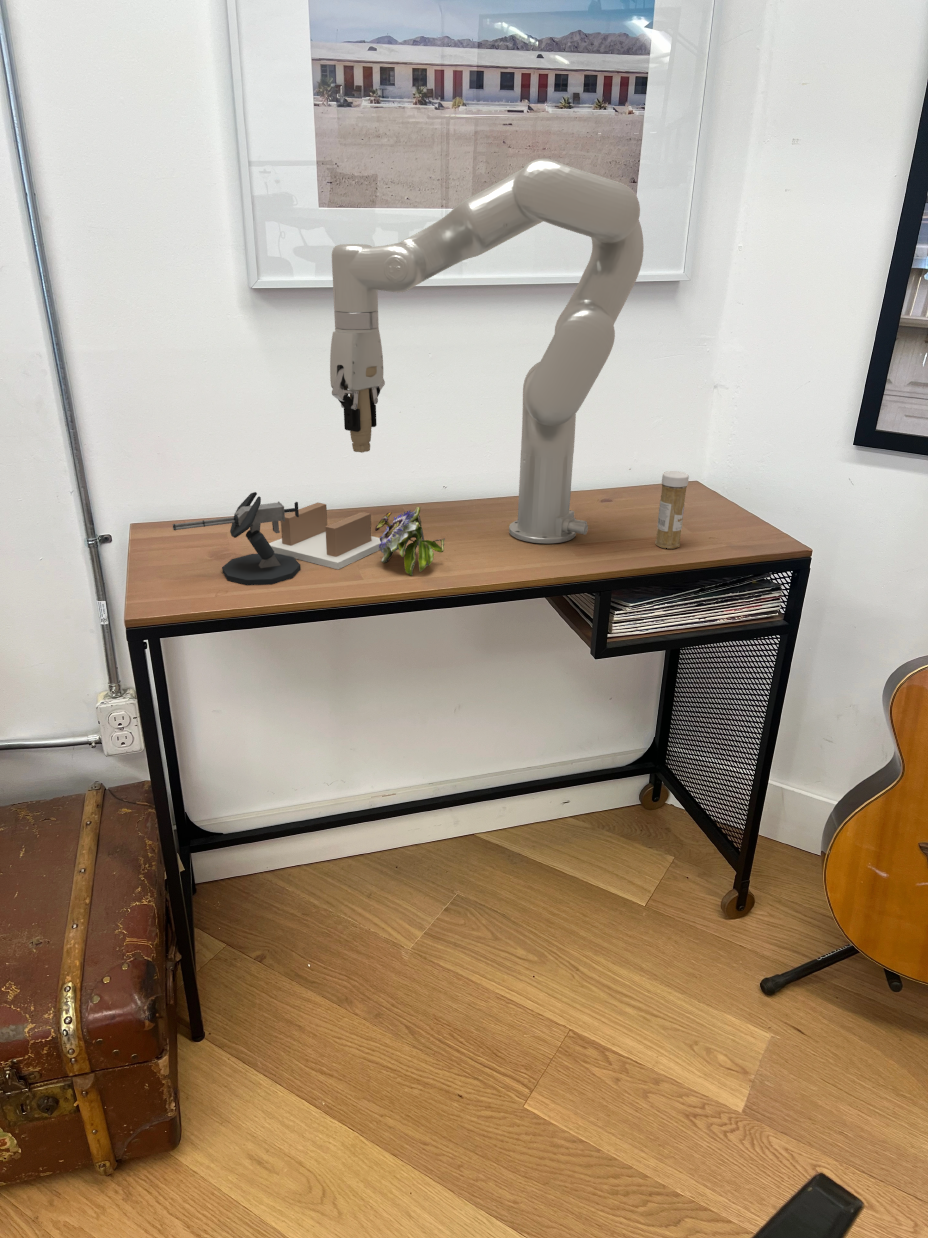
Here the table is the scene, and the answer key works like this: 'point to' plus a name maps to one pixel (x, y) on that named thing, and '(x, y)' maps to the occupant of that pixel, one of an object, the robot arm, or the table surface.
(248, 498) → the gun turret
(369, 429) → the handle
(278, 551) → the white base with blocks
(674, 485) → the sprinkles bottle
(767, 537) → the table surface
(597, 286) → the robot arm
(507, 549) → the table surface
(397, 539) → the passion flower
